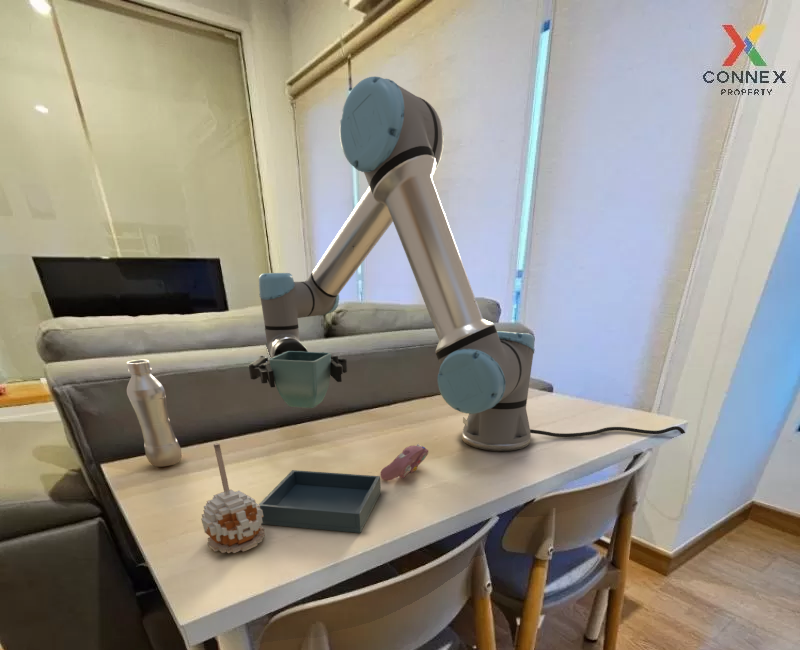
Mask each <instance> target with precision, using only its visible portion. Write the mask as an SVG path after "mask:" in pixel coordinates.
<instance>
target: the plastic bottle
mask: <svg viewBox="0 0 800 650" xmlns="http://www.w3.org/2000/svg"><path fill="white" fill-rule="evenodd" d="M126 365H127V368H128V371H127V372H128V374H130V375H131V376H130V379H129V381H128V383H127V387H126V395H127V397H128V399H129V403H130V404H131V406H132V409H133V410H134V413H135V415H136V418H137V420H138V423H139V427H140V429H141V434H142V439H143V443H144V445H143V447H144V453H145V458H146V460H147V461H148V462H149V464H151V465H152V466H153V467H157V468H161V467H162V468H163V467H170V466H173V465H176V464H178V463H179V462H180V461H181V459H182V457H183V456H182V448H181V445H180V443H179V441H178V439H177V437H176V434H175V431H174V429H173V426H172V424H171V419H170V415H169V410H168V403H167V396H166V390H165V387H164V386H163V384H162V383H161V382H160V381H159V380H158V379H157V378H156V377H155V376H154V375H153V374H152V372H153V369H152V366H151V363H150V361H149V360H148V359H135V360H130V361H127V362H126Z"/></svg>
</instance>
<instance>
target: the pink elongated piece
mask: <svg viewBox="0 0 800 650" xmlns="http://www.w3.org/2000/svg"><path fill="white" fill-rule="evenodd" d="M428 454H429V449H427V448H426V447H425V446H423V445H420V444H419V443H417V444H416V445H409V446H407V447H405V448H404V449H403V450H402V452H401V453H400V454H398V455H397V456H396V457H395V458H394V459H393V460H392V461H391V462H390V463H389V464H388V465H386V466H384V467H383V468H382V469H381V471H380V473H379V476H380V479H382V480H383V481H391V480H395V479H396V478H398V477H400V478H401V479H405V478H406V477H407V475H409V473H411V474H412V473H414V472H415V471H417V469H418V467H419V466H420V464H421V463H422V462H424V460H425V459H426V457H428Z"/></svg>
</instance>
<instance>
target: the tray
mask: <svg viewBox="0 0 800 650" xmlns="http://www.w3.org/2000/svg"><path fill="white" fill-rule="evenodd" d="M381 491H382V490H381V476H380V475H368V474H356V473H355V474H354V473H339V472H337V473H336V472H325V471H311V470H298V469H297V470H296V469H292V470H290V472H289V473H288V474H287V475H286V476H285V477H284V478H283V479H282V480H281V481H280V482H279V483H278V484H277V485H276V486H275V487H274V488H273V489H272V490H271V491H270V492H269V493H268V494H267V495H266V496H265V497H264V498H263V499H262V500H261V501H260V502H259V503H258V505H260V509H261V510H262V511H263V516H264V517H262V521H263V523H261V525H268V526H269V525H270V526H278V527H289V528H301V529H313V530H323V531H334V532H346V533H355V534H361V533H362V531H363V530H364V527H365V525H366V523H367V521H368V519H369V517H370V515H371V513H372V511H373V510H374V507H375V505H376V503H377V501H378V499H379V497H380V495H381V493H382V492H381Z"/></svg>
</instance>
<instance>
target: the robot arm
mask: <svg viewBox="0 0 800 650" xmlns="http://www.w3.org/2000/svg"><path fill="white" fill-rule="evenodd" d="M339 140H340V146H341V150H342V152H343V155H344V157H345V159H346V160H347V162H348V163H349V165H351V166H352V167H353V168H354V169H355V170H357V171H359V172H361V173H363V174H364V176H365V179H366V181H367V184H368V187H367V188H366V190H365V191H364V193H363V194H362V196H361V198H360V199H359V201H358V202H357V204H356V205H355V207H354V208H353V209H352V211H351V213H350V214H349V215H348V218H347V219H346V221H345V222H344V223H343V225H342V227H341V228H340V229H339V231H338V232H337V234H336V235H335V237H334V238H333V240H332V241H331V243H330V244H329V246H328V248H327V249H326V250H325V252H324V254H323V255H322V257H321V258H320V260H319V261H318V262H317V264H316V266H315V267H314V269H313V270H312V272H310V274H309V276H308V277H307V279H306V280H304V281H303V280H302V281H294V277H293V274H292V273H290V272H264V273H261V274H260V275H259V277H258V289H259V290H258V291H259V298H260V304H261V310H262V316H263V321H264V322H263V323H264V333H265V339H266V343H265V348H266V347H267V348H266V350H267V349H268V352H269V355H270V357H271V358H273V357H276V356H278V355H280V354H282V353H284V352H287V351H301V352H309V351H308V349H307V347H306V346H305V345H304V344H303V343H302V342H301V339H300V331H299V328H300V327H299V319H301V318H309V317H317V316H318V317H319V316H320V317H321V316H325V315H328V314H332V313H334V312H335V311H336V310H337V308H338V306H339V302H340V293H341V292H342V290H343V289H344V288H345V286H346V285H347V284H348V282H349V281H350V280H351V278H352V277H353V276H354V274H355V273H356V271H357V270H358V269H359V268H360V266H361V265H362V264H363V263H364V261H365V260H366V258H367V257H368V256H369V255H370V253H371V251H372V250H373V249H374V248H375V246H376V245H377V243H379V241H380V240H381V238H382V237H383V235H385V233H386V231H388V229H389V228H390V226H391V225H392V224H393V225H394V228H395V229H396V233H397V235H398V239H399V240H400V243H401V246H402V248H403V251H404V254H405V255H406V258H407V261H408V263H409V266H410V269H411V271H412V274H413V276H414V279H415V281H416V284H417V287H418V289H419V292H420V294H421V297H422V299H423V303H424V304H425V307H426V309H427V312H428V315H429V317H430V320H431V323H432V325H433V327H434V330H435V332H436V335H437V338H438V343H437V346H436V349H435V351H434V352H435V355H436V358H437V360H438V364H439V365H440V366H439V369H438V374H437V387H438V390H439V393H440V396H441V398H442V399H443V401H444V402H446V404H447V405H448V406H449V407H451V408H452V409H453V410H455V411H457V412H460V413H463V414H467V415H468V416H467V418H466V417H464V416H463V417H462V423H463V425H464V426H463V428H462V435H461V436H462V437H461V440H462V441H463V442H464V443H465V444H466V445H468V446H469V447H472V448H475V449H479V450H484V451H493V452H509V451H517V450H522V449H523V448H526V447H528V446H530V443H531V436H532V435H531V434H536V435H543V436H547V437H555V438H577V437H586V436H593V435H594V436H595V435H598V434H602V433H605V432H611V431H612V432H613V431H621V432H622V431H623V432H632V433H638V434H645V435H662V434H666V433H668V432H672V431H678V432H679V433H680V434H686V431H685V430H684V429H683V427H681V426H678V425H677V426H676V425H673V426H669V427H667V428H663V429H658V430H653V429H652V430H650V429H648V430H647V429H641V428H634V427H626V426H608V427H603V428H599V429H596V430H592V431H583V432H582V431H581V432H568V433H563V432H562V433H560V432H551V431H545V430H539V429H532V428H531V427H530V421H529V416H528V411H527V404H528V396H529V390H530V382H531V374H532V367H533V359H534V354H535V337H534V335H533V334H531V333H529V332H512V331H497V328H496V324H495V323H494V322H492V321H489V320H486V319H485V318H483V317H484V316H483V315H482V312H481V310H480V308H479V303H478V301H477V299H476V296H475V293H474V290H473V288H472V285H471V282H470V279H469V276H468V274H467V271H466V269H465V265H464V263H463V260H462V257H461V255H460V253H459V248H458V246H457V244H456V241H455V238H454V235H453V233H452V230H451V228H450V224H449V222H448V219H447V216H446V213H445V211H444V208H443V205H442V203H441V199H440V197H439V193H438V192H437V189H436V186H435V183H434V180H433V177H434V175H435V173H436V171H437V169H438V167H439V164H440V162H441V160H442V156H443V151H444V142H445V141H444V130H443V125H442V121H441V119H440V117H439V114H438V112H437V111H436V109H435V108H434V106H432V104H430V103H429V102H428V101H427V100H425V99H424V98H422V97H420V96H417V95H415V94H413V93H412V92H410V91H409V90H407V89H405V88H404V87H402V86H400V85H398V83H396V82H395V81H394V80H391V79H390V78H383V77H380V76H369V77H365V78H363V79H362V80H360V81H359V82H358V83H357V84H356V85H355V86H354V87H353V88H352V89H351V91H350V92H349V94H348V95H347V97H346V99H345V101H344V104H343V106H342V115H341V119H340V120H339ZM321 353H325V352H324V351H322V352H321ZM269 355H268V356H265V355H260V356H258V358H257V359H256V360H255V361H253V362H251V363H250V364H248V372H249V377H250V380H257V379H258V378H260V382H261V384H269V387H270V388H276V384H275V381H274V375H273V370H272V369H271V366H270V362H269V358H270V357H269ZM271 358H270V359H271ZM347 373H348V362H347V358H345V357H341V356H339V355H332V354H331V368H330V377H332V378H333V379H334V381H336V383H341V382H342V375H343V374H347Z"/></svg>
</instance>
